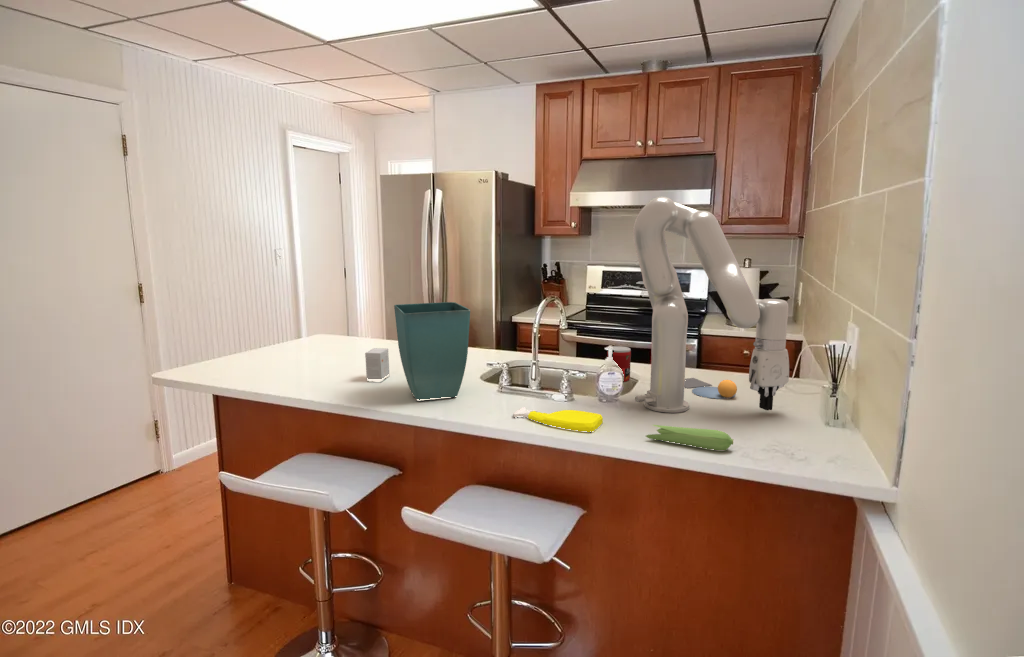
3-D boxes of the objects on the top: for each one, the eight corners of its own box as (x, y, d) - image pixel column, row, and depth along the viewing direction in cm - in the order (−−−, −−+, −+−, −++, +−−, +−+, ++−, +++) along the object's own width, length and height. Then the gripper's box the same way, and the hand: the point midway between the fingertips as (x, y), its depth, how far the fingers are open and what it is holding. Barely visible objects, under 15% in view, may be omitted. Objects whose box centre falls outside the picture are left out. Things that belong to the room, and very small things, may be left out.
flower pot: (473, 400, 169) (471, 309, 164) (407, 408, 163) (403, 312, 158) (456, 384, 188) (454, 301, 183) (397, 390, 181) (393, 304, 176)
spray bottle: (591, 436, 140) (506, 423, 152) (605, 423, 149) (524, 411, 161) (591, 425, 139) (506, 412, 151) (605, 413, 149) (524, 402, 160)
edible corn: (731, 439, 125) (734, 427, 129) (643, 428, 134) (648, 417, 138) (731, 457, 127) (734, 445, 131) (645, 445, 136) (649, 434, 140)
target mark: (709, 400, 167) (709, 400, 167) (683, 389, 179) (683, 388, 179) (744, 396, 171) (744, 395, 171) (717, 385, 183) (717, 385, 183)
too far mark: (686, 388, 180) (686, 388, 180) (668, 380, 189) (668, 380, 189) (712, 385, 183) (712, 385, 183) (693, 378, 192) (693, 377, 192)
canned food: (630, 382, 188) (630, 351, 186) (606, 381, 189) (606, 350, 187) (629, 377, 195) (630, 346, 193) (606, 376, 197) (607, 345, 195)
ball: (728, 394, 165) (722, 377, 168) (717, 400, 170) (711, 383, 172) (743, 393, 167) (737, 376, 169) (731, 399, 172) (726, 382, 174)
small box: (375, 376, 199) (373, 347, 197) (390, 376, 198) (388, 348, 197) (366, 382, 191) (364, 352, 190) (381, 382, 191) (380, 352, 189)
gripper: (758, 349, 145) (753, 416, 148) (802, 345, 150) (797, 410, 153) (738, 343, 152) (734, 407, 155) (781, 340, 157) (776, 402, 160)
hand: (765, 408), depth 154 cm, fingers closed
